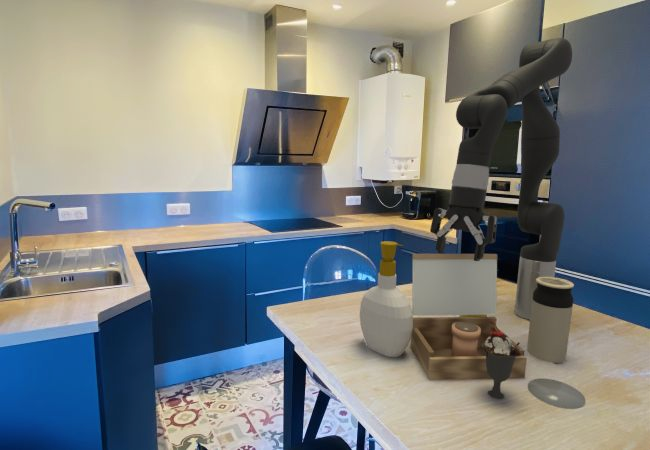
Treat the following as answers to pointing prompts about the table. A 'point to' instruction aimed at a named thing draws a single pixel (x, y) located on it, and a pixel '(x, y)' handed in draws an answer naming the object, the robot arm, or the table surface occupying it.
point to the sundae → (499, 359)
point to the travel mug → (550, 319)
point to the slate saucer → (556, 393)
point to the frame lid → (454, 284)
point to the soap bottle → (386, 310)
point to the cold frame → (436, 349)
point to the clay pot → (465, 339)
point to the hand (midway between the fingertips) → (457, 256)
